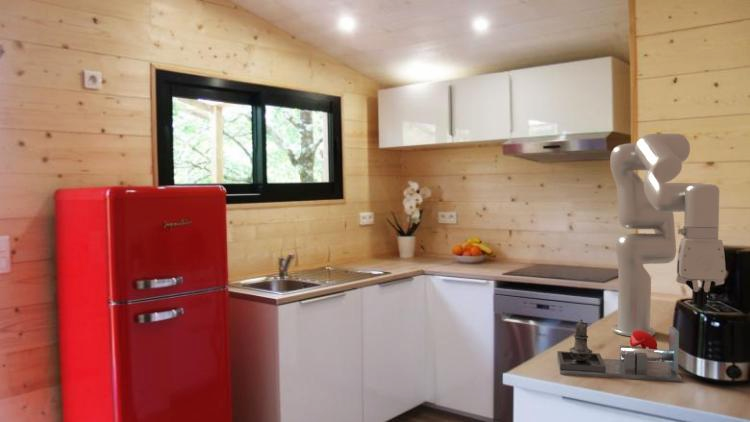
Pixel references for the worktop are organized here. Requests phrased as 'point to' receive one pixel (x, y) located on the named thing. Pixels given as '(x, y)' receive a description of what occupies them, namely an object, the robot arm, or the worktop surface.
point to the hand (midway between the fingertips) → (699, 306)
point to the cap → (643, 340)
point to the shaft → (661, 351)
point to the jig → (619, 367)
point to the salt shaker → (580, 345)
